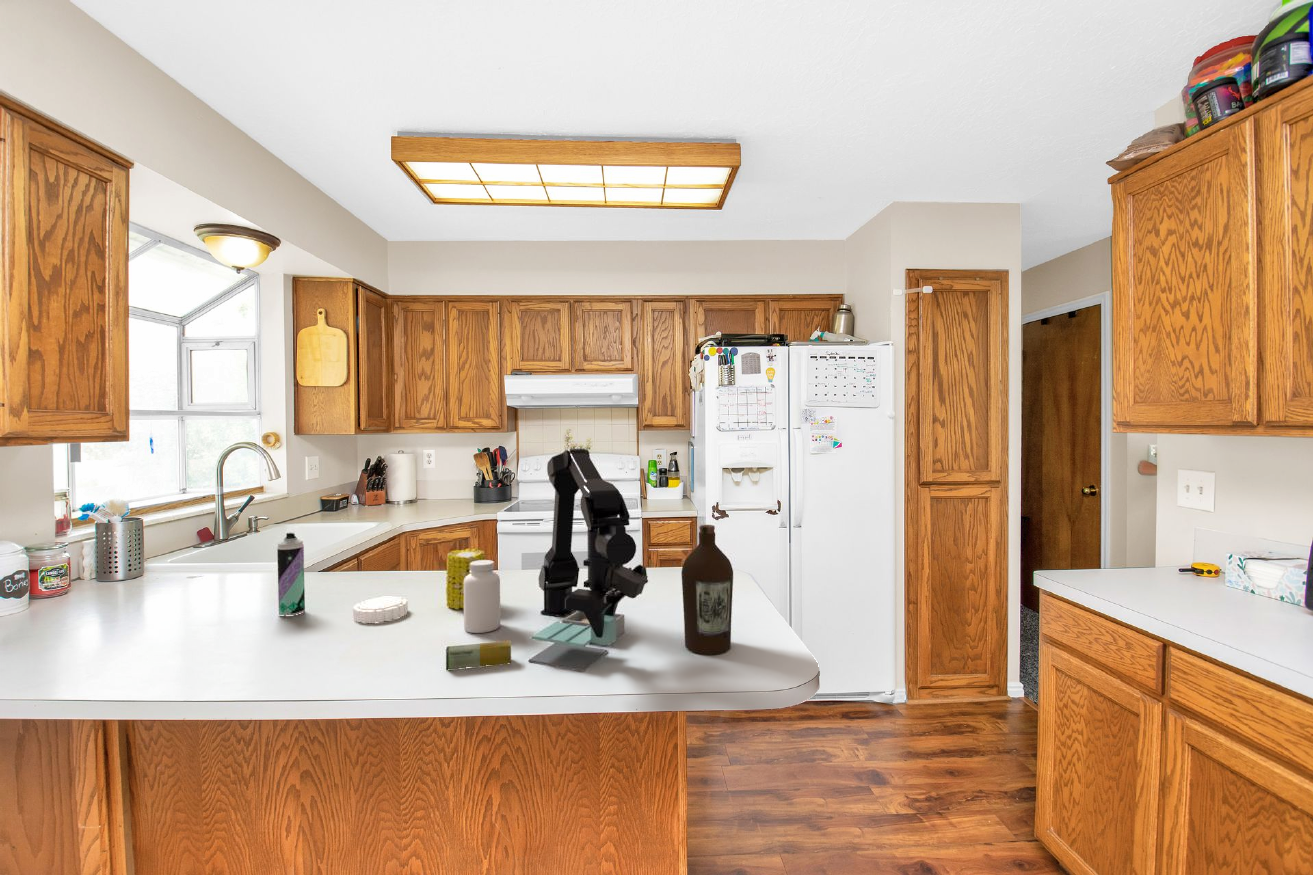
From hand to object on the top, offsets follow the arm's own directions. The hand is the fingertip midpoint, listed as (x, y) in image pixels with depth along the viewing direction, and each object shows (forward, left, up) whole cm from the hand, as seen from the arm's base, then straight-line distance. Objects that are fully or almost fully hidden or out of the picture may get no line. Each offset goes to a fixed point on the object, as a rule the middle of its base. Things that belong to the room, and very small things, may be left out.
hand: (603, 634), depth 112 cm
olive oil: (+16, +15, -6) cm, 23 cm away
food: (-50, +19, -6) cm, 54 cm away
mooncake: (-64, +5, -6) cm, 64 cm away
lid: (-6, 0, -2) cm, 6 cm away
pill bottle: (-35, +7, -6) cm, 36 cm away
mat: (-8, 0, -6) cm, 10 cm away
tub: (-9, +12, -6) cm, 16 cm away
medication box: (-22, -10, -6) cm, 25 cm away
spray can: (-86, -2, -6) cm, 86 cm away
